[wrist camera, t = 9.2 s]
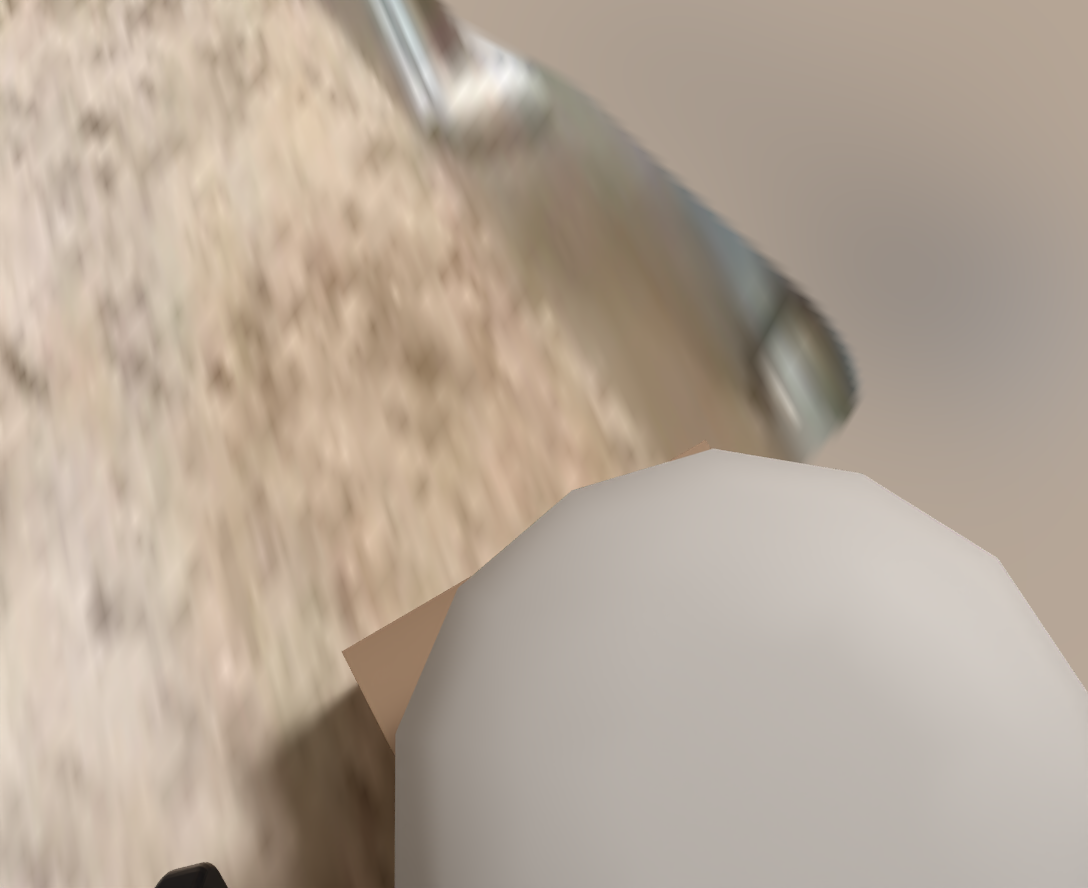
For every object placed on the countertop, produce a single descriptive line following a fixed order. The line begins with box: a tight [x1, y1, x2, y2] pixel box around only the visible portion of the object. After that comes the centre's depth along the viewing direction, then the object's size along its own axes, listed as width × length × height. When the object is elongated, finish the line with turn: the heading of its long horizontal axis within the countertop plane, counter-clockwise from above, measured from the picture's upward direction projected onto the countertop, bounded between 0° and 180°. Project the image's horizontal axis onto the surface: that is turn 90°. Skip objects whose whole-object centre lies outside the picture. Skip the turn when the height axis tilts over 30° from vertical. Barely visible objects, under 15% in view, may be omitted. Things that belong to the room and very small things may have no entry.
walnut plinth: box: [342, 440, 711, 756], centre depth 19 cm, size 8×8×4 cm
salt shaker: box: [395, 449, 1088, 888], centre depth 11 cm, size 6×6×13 cm
